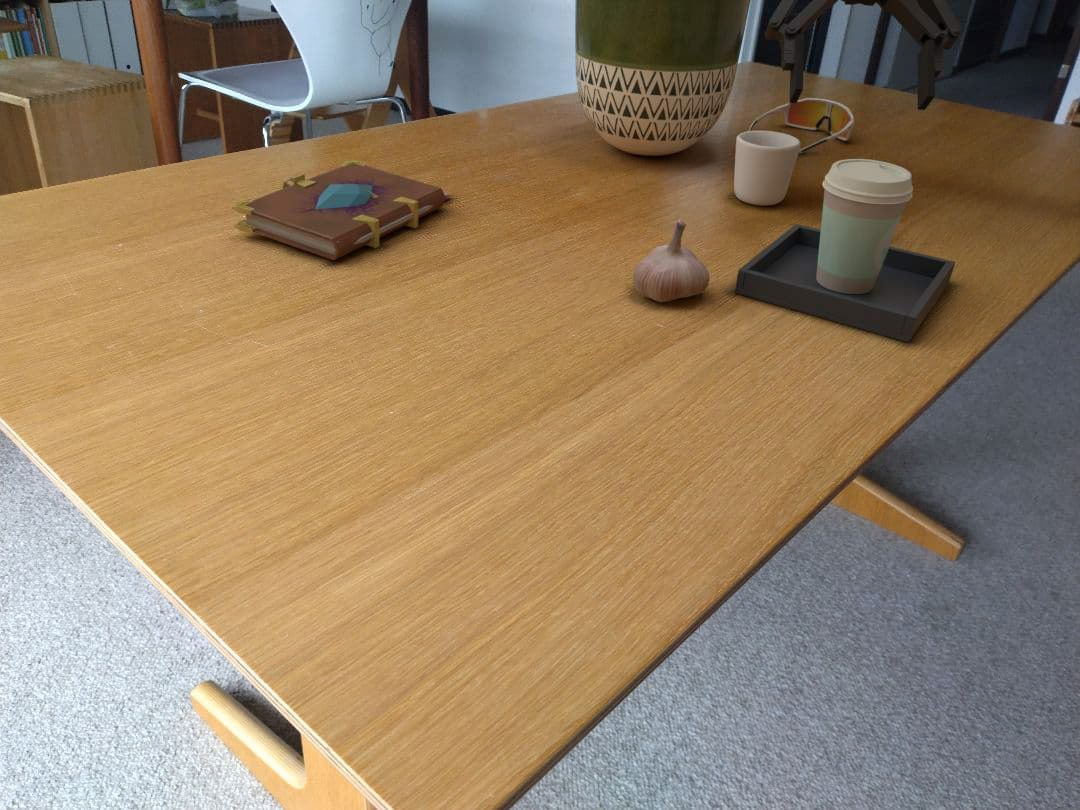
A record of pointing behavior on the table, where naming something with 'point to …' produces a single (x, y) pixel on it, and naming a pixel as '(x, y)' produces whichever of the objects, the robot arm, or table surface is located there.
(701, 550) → the table surface
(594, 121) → the planter
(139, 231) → the table surface
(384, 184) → the book
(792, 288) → the slate tray
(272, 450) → the table surface
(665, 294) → the garlic bulb
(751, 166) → the cup
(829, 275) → the coffee cup
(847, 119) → the sunglasses
